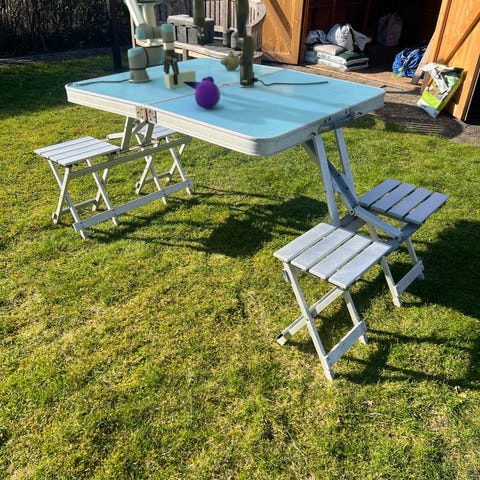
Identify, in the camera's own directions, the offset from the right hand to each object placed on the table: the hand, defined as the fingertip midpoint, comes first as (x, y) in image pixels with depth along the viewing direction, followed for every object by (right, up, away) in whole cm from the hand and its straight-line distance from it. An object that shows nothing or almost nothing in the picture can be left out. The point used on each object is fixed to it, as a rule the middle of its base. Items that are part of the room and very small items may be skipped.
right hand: (200, 45), depth 286 cm
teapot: (+19, +16, +86) cm, 89 cm away
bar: (-17, -14, +35) cm, 41 cm away
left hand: (-23, -14, +29) cm, 40 cm away
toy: (+3, -44, -17) cm, 47 cm away
